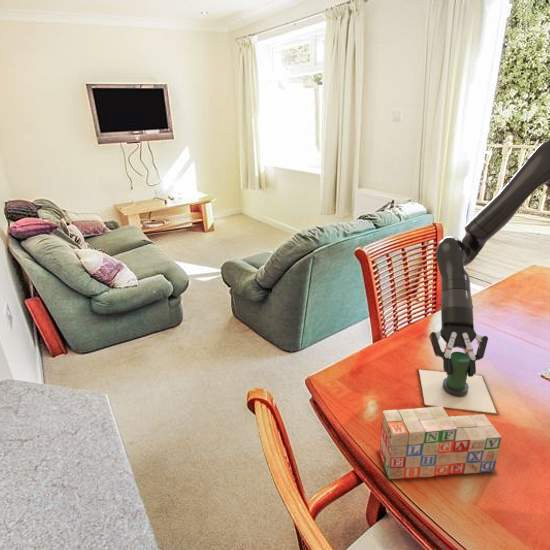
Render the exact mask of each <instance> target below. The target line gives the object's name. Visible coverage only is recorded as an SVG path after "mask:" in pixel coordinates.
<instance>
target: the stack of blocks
mask: <svg viewBox="0 0 550 550" xmlns="http://www.w3.org/2000/svg"><path fill="white" fill-rule="evenodd" d="M381 418H382V420H381V421H382V422H381V423H380V425H381V426H380V448H379V455H380V458H381V459H380V460H381V461H382V464H383V466H384V468H385V472H386V475H387V479H388V480H396V479H397V480H399V479H416V478H417V479H418V478H430V477H435V476H436V477H437V476H447V475H460V474H464V475H465V474H466V475H467V474H479V473H490V472H495V468H496V464H497V460H498V457H499V453H500V446H501V442H502V436H501V434H500V433H499V431H498V430H497V429H496V428H495V426H494V425H493V424H492V423H491V422H490V419H488V417H487V416H486V414H484V413H482V414H470V415H469V414H465V415H456V416H454V415H452V416H449V415H448V413H447V412H446V409H445V408H444V407H442V406H438V407H436V406H428V407H418V408H417V407H416V408H404V409H388V410H387V409H386V410H385V409H384V410H383V411H382V417H381Z"/></svg>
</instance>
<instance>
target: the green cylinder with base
mask: <svg viewBox="0 0 550 550" xmlns="http://www.w3.org/2000/svg"><path fill="white" fill-rule="evenodd" d="M449 359H451V374H450V375H447V378H445V379H444V380H443V385H442V387H443V389H444V391H445V392H447V393H448V394H450V395H453V396H457V397H462V396H465V395H467V393H468V389H469V386H468V384H467V383H466V380H467V374H468V369H469V363H470V357H469V356H468V355H467V354H465V352H464V351H463V352H462V351H453V352H451V353H450V356H449Z"/></svg>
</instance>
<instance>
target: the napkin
mask: <svg viewBox="0 0 550 550" xmlns="http://www.w3.org/2000/svg"><path fill="white" fill-rule="evenodd" d="M418 374H419V380H420V384H421V385H420V386H421V391H422V396H423V403H424V406H428V407H438V406H442V407H443V408H444V409H452V410H453V409H454V410H460V411H469V412H479V413H486V414H493V415H497V414H498V413H497V411H496V407H495V405H494V403H493V400H492V398H491V396H490V393H489V390H488V388H487V385H486V383H485V381H484V378H483V376H482V375H480V374H479V375H478V374H474V375H473V377H468V374H467V380H466V383H467V384H468V386H469V389H468V393H467V395H465V396H462V397H457V396H453V395H450V394H448V393H447V392H445V391H444V389H443V387H442V385H443V380H444V379H445V378H447V374H446V372H444V371H437V370H427V369H418Z"/></svg>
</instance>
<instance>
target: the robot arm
mask: <svg viewBox="0 0 550 550" xmlns="http://www.w3.org/2000/svg"><path fill="white" fill-rule="evenodd" d="M542 185H544V186H546V187H547V188H548V189H549V190H550V139H547V140H546V141H544V142H542V143H541V144H540V145H539V146H538V147H537V148H535V150H534V151H533V152H532V154H531V155H530V156H529V157H528V158H527V160H525V162H524V164H522V166H521V168H519V170H517V172H516V173H515V174H514V175H513V177H512V178H511V179H510V180H509V181H508V182H507V183H506V185H505V186H504V187H503V188H502V189H501V190H500V191H499V192H498V193H497V194H496V195H495V196H494V197H493V198H492V199H491V200H490V201H489V202H488V203H487V204H486V205H485V206H484V207H483V208H482V209H481V210H480V211H478V213H477V214H475V215H474V216H473V217H472V218H471V219H470V220H469V221H468V222H467V223H465V226H464V231H465V235H464V236H463V237H462V239H459V238H457V237H455V236H446V237H444V238H442V239H440V241H439V242H438V244H437V246H436V249H435V257H436V262H437V267H438V271H439V274H440V278H441V283H440V285H441V298H440V314H441V315H440V317H441V318H440V319H441V328H440V330H439V331H437V332H434V331H432V332H430V334H429V336H428V337H429V340H430V343H431V346H432V348H433V352H434V355H435V356H436V357H439V358H441V359H442V363H443V364H442V367H443V372H446V374H447V375H450V374H451V359H450V356H451V353H452V350H453V349H456V348H458V349H462V350H463V353H465V354H467V355H468V356H469V357H470V363H469V369H468V377H473V375H476V374H477V368H476V365H477V364H476V361H480V360H482V359H483V358H484V356H485V354H486V353H485V352H486V349H487V345H488V341H489V337H488V336H487V335H479V334H477V332H476V330H475V325H474V324H475V323H474V305H473V298H472V293H471V292H472V291H471V279H470V275H469V273H468V272H467V271H466V269H465V267H467V266H468V265H470V264H471V263H472V262H473V261H474V260H475V259H476V258H477V256H478V255H479V254H480V252H481V251H482V250H483V248H484V246H485V245H486V243H487V242H488V241H489V240H490V239H492V237H494V236H495V235H496V234H497V233H498V232H499V231H501V230H502V229H503V228H504V227H505V226H506V225H507V224H508V223H509V222H510V221H511V220H512V218H513V217H514V216H515V215H516V213H517V212H518V211H519V210H520V208H521V207H522V205H523V204H524V203H525V202H526V200H527V199H528V198H529V197H531V195H532V194H533V193H534V192H535V191H536V190H537V189H538V188H539V187H541V186H542ZM440 338H442V339H443V341H444V342H445V347H444V350H443V351H442V349H441V345H440V343H439V340H440ZM474 340H476V344H477V345H478V346H477V349H476V354H475V353H474V348H473V345H472V343H473V341H474Z"/></svg>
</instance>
